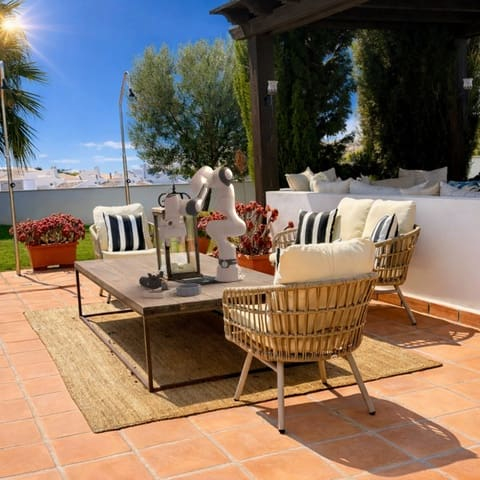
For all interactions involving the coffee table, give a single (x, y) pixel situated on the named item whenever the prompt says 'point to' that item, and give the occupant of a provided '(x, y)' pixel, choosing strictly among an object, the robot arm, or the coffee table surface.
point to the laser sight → (152, 280)
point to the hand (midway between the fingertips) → (173, 245)
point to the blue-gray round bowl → (188, 289)
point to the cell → (164, 285)
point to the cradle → (159, 293)
